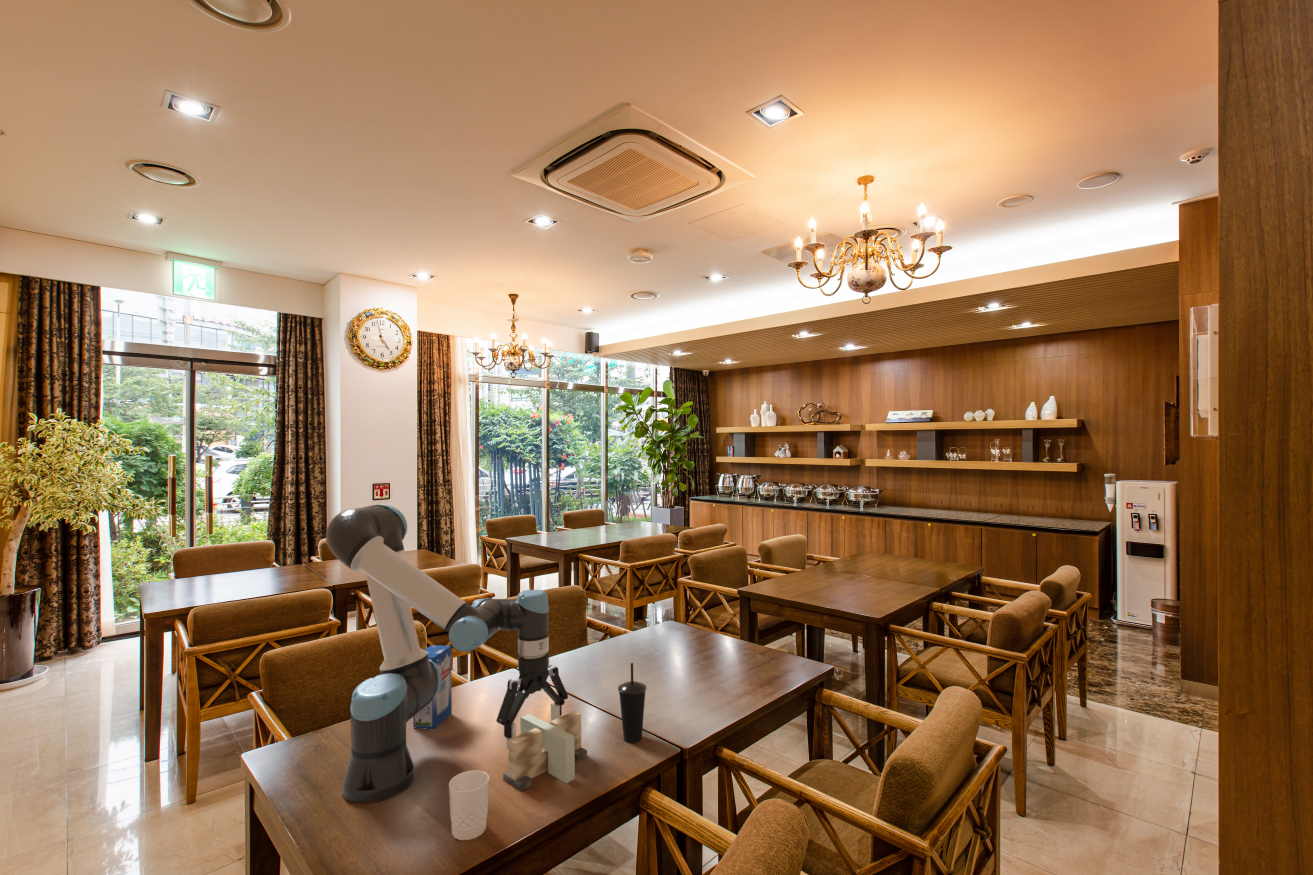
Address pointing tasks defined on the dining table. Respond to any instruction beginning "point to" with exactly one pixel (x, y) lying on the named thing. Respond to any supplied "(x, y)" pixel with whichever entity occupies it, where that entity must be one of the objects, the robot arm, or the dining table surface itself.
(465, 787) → the white cup
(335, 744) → the dining table surface
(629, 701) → the drinking cup
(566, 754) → the sage board
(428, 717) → the milk carton
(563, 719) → the maple board
